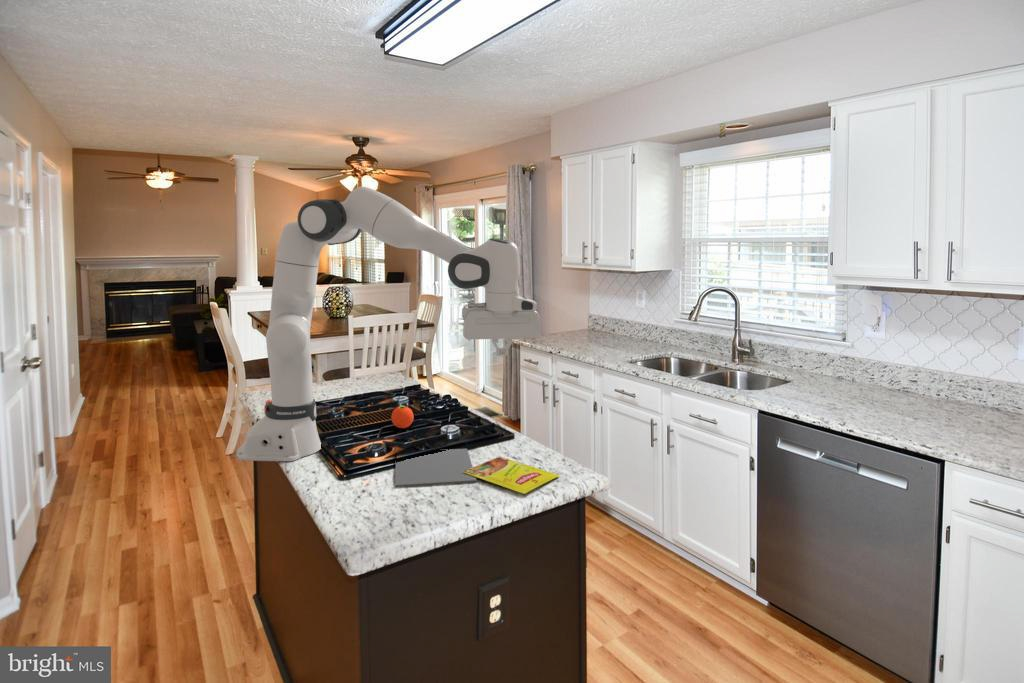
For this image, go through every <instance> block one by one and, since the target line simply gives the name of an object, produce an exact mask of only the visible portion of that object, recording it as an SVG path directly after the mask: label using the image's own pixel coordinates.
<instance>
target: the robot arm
mask: <svg viewBox="0 0 1024 683" xmlns="http://www.w3.org/2000/svg"><path fill="white" fill-rule="evenodd" d="M362 231H364V232H366V233H367V234H369V235H371V236H372V237H374V239H377V241H380V242H382V243H383V244H386V245H389V246H392V247H395V248H397V249H406V250H407V249H409V250H410V249H411V250H419V251H423V252H427V253H428V254H432V255H433V256H435V257H437V258H438V259H441V260H443V261H444V262H446V263H448V266H447V275H448V278H449V280H450V281H451V283H452V284H453V285H454V286H455V287H457V288H459V289H463V290H474V289H476V288H479V287H482V288H484V302H477V303H475V302H474V303H472V302H470V303H467V304H465V305H464V306H463V307H462V308H461V317H462V320H463V325H462V335H463V337H464V338H465V339H466V340H468V341H471V340H491V343H492V345H493V346H494V348H495V356H497V357H500V356H501V357H502V356H504V357H505V356H508V355H509V349H510V347H511V345H512V344H513V339H537V338H539V337H540V336H541V334H542V325H541V324H542V323H541V322H542V321H541V316H540V314H539V312H538V311H536V310H537V309H538V303H537V301H535V300H533V299H530V298H527V297H525V296H521V295H520V286H519V277H520V275H521V274H520V273H521V266H520V265H521V263H520V254H519V247H518V245H517V244H516V243H514V242H513V241H511V240H507V239H504V238H503V239H502V238H497V237H496V238H495V237H493V238H489V239H487V240H486V241H485V242H483V243H482V244H480V245H478V246H476V247H470V246H467V245H465V244H463V243H461V242H459V241H457V240H456V239H453V238H452V237H450V236H448V235H447V234H445V233H443V232H442V231H440V230H438V229H436V228H435V227H433V226H432V225H430V224H429V223H428V222H427V221H425V220H423V219H422V218H421V217H419V215H418V214H416V213H414V212H413V211H412V210H410V209H409V208H408V207H406V206H405V205H403V204H402V203H400V202H398V200H395V199H394V198H392V197H390V196H388V195H387V194H384V193H382V192H380V191H378V190H375V189H373V188H370V187H367V186H358V187H356V188H354V189H352V191H351V192H350V193H349V194H348V196H347V197H346V198H345V200H343V201H340V200H338V199H335V198H333V199H331V198H330V199H328V198H327V199H326V198H325V199H322V198H321V199H314V200H310V201H308V202H306V203H305V204H303V205H302V206H301V208H300V209H299V211H298V212H297V221H291V222H288V223H286V224H285V225H284V227H283V228H282V230H281V233H280V237H279V240H278V245H277V249H276V253H275V254H276V255H275V263H274V271H273V281H272V288H271V302H270V314H269V321H268V327H267V331H266V335H265V339H266V342H265V343H266V351H267V361H268V362H267V363H268V369H269V381H270V391H271V392H270V394H271V395H270V396H271V399H267V400H266V402H265V403H264V404H265V405H264V411H263V412H264V416H263V417H262V418H260V420H258V421H257V422H255V424H253V425H252V426H251V427H250V428H249V429H248V430H247V432H246V434H245V438H244V443H243V444H241V445H240V446H239V447H238V448H237V450H236V452H235V453H236V459H237V460H238V461H246V462H250V461H252V462H253V461H255V462H293V461H296V460H299V459H301V458H303V457H307V456H311V455H312V454H315V453H317V452H319V451H320V450H321V449H322V448H321V444H322V442H321V439H320V436H319V432H318V428H317V422H316V419H317V403H316V400H315V398H314V385H313V383H314V382H313V367H312V366H313V365H312V364H313V363H312V350H311V349H312V347H311V327H312V326H311V325H312V320H313V319H312V318H313V310H314V304H315V297H316V290H317V282H318V274H319V273H318V272H319V264H320V257H321V256H320V255H321V252H322V249H323V248H324V247H326V245H328V246H335V245H342V244H347V243H350V242H352V241H354V240H356V239H357V238H358V237H359V236H360V234H361V233H362ZM499 339H501V340H502V339H503V340H504V339H505V341H506V344H505V346H504V347H499V345H498V343H499Z"/></svg>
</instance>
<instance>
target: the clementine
mask: <svg viewBox="0 0 1024 683" xmlns="http://www.w3.org/2000/svg"><path fill="white" fill-rule="evenodd" d="M390 419H391V422H392V424H393V426H395V427H396V428H399V429H406V428H409V427H410V426H411V424H412V423H413V422H414V419H415V418H414V413H413V410H412V409H411V408H409V407H408V406H405V405H399V406H398V407H396V408H395V409H394V410H393V411H392V413H391V418H390Z"/></svg>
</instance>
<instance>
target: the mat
mask: <svg viewBox="0 0 1024 683" xmlns="http://www.w3.org/2000/svg"><path fill="white" fill-rule="evenodd" d="M445 450H446V451H442V452H438V453H434V454H428V455H424V456H419V457H415V458H411V459H406V460H404V461H401V462H398V463H396V462H395V482H394V483H395V488H406V487H407V488H408V487H422V486H423V487H425V486H439V485H452V484H453V485H454V484H456V485H457V484H468V483H469V484H472V483H477V477H474V476H472V475H469V474H466V473H463V472H464V471H466V470H468V469H471V468H473V464H472V461H471V457H470V454H469V450H468V448H455V449H454V448H451V449H450V448H449V450H448V449H445Z"/></svg>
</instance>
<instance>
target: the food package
mask: <svg viewBox="0 0 1024 683" xmlns="http://www.w3.org/2000/svg"><path fill="white" fill-rule="evenodd" d="M472 467H473V466H472ZM463 473H466V474H469V475H472V476H474V477H476V479H481V480H484V481H486V482H488V483H491V484H494V485H498V486H501V487H503V488H506V489H509V490H511V491H515V492H517V493H520V494H527V493H529V492H530V491H533V490H535V489H536V488H539V487H540V486H542V485H544V484H546V483H549V482H550V481H552V480H553V479H556V478H558V477H560V476H561V475H560V474H557V473H553V472H550V471H547V470H543V469H540V468H537V467H535V466H531V465H528V464H525V463H522V462H519V461H515V460H512V459H509V458H506V457H503V456H498V457H495V458H492V459H490V460H488V461H485V462H483V463H481V464H478V465H476V466H474V467H473V468H471V469H468V470H466V471H464V472H463Z"/></svg>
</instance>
